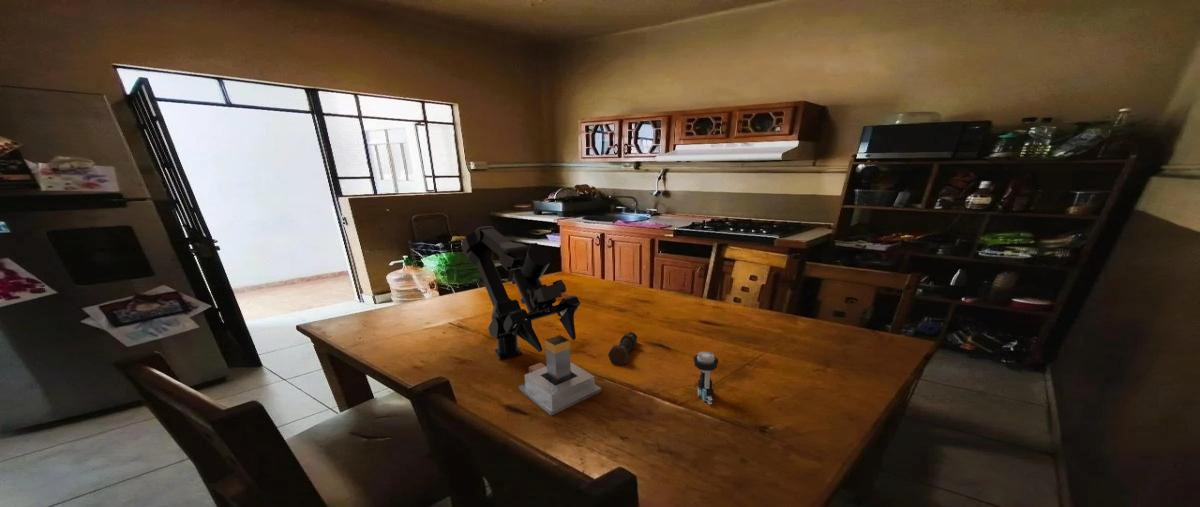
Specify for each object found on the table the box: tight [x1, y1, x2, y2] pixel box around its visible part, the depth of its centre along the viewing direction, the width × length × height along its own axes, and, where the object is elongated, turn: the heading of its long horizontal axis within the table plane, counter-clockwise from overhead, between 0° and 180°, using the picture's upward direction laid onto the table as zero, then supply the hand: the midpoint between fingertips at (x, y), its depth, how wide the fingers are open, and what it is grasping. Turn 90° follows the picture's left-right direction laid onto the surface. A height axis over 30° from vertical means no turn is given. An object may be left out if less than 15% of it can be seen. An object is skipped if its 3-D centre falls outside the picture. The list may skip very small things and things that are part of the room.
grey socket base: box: [518, 361, 602, 417], centre depth 92 cm, size 18×14×4 cm
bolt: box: [607, 331, 638, 366], centre depth 109 cm, size 6×5×15 cm
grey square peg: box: [544, 334, 571, 386], centre depth 89 cm, size 4×4×12 cm
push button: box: [693, 351, 719, 405], centre depth 85 cm, size 7×5×10 cm
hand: (558, 345), depth 88 cm, fingers open, 9 cm apart
